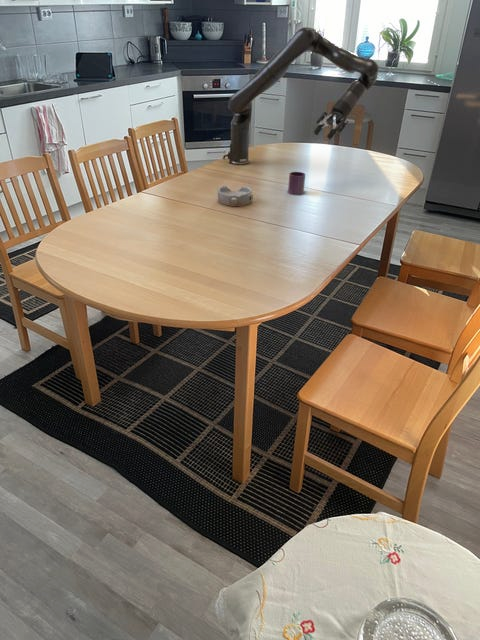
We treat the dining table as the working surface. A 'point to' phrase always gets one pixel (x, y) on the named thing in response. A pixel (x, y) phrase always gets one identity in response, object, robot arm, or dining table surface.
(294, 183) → the cup
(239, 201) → the dish
